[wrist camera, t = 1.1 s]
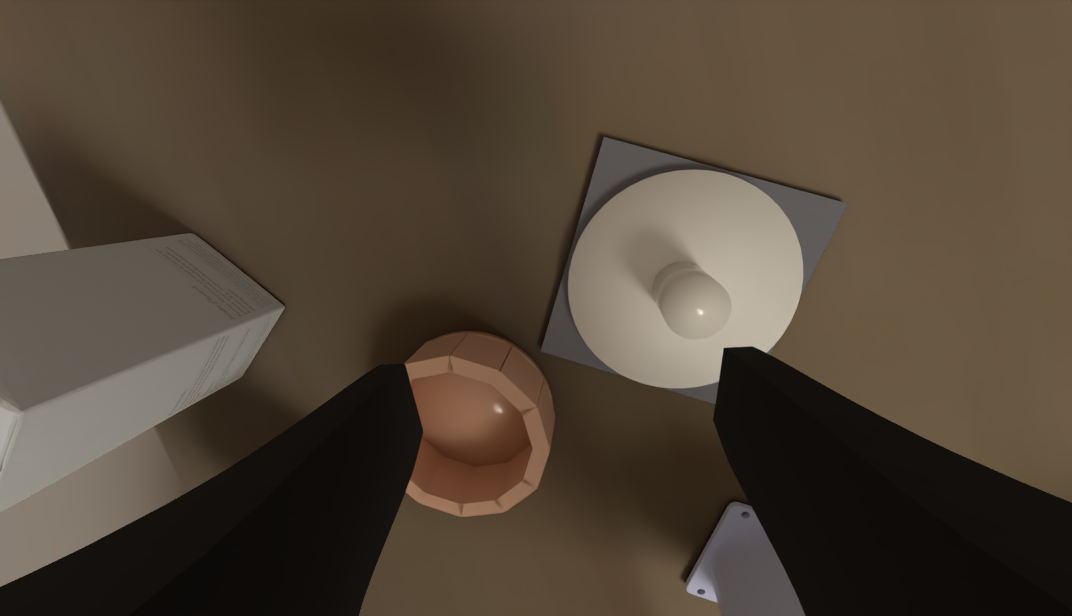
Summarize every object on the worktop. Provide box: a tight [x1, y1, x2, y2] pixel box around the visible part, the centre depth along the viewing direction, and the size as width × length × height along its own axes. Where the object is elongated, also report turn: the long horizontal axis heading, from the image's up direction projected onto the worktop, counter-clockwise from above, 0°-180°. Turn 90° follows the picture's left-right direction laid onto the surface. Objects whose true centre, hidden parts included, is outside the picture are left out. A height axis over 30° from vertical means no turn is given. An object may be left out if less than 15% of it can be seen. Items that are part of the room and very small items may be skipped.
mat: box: [541, 137, 848, 404], centre depth 21 cm, size 12×12×1 cm
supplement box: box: [0, 233, 285, 512], centre depth 20 cm, size 7×7×13 cm
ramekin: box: [404, 331, 555, 517], centre depth 24 cm, size 10×10×4 cm
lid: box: [568, 169, 803, 388], centre depth 19 cm, size 12×12×4 cm
